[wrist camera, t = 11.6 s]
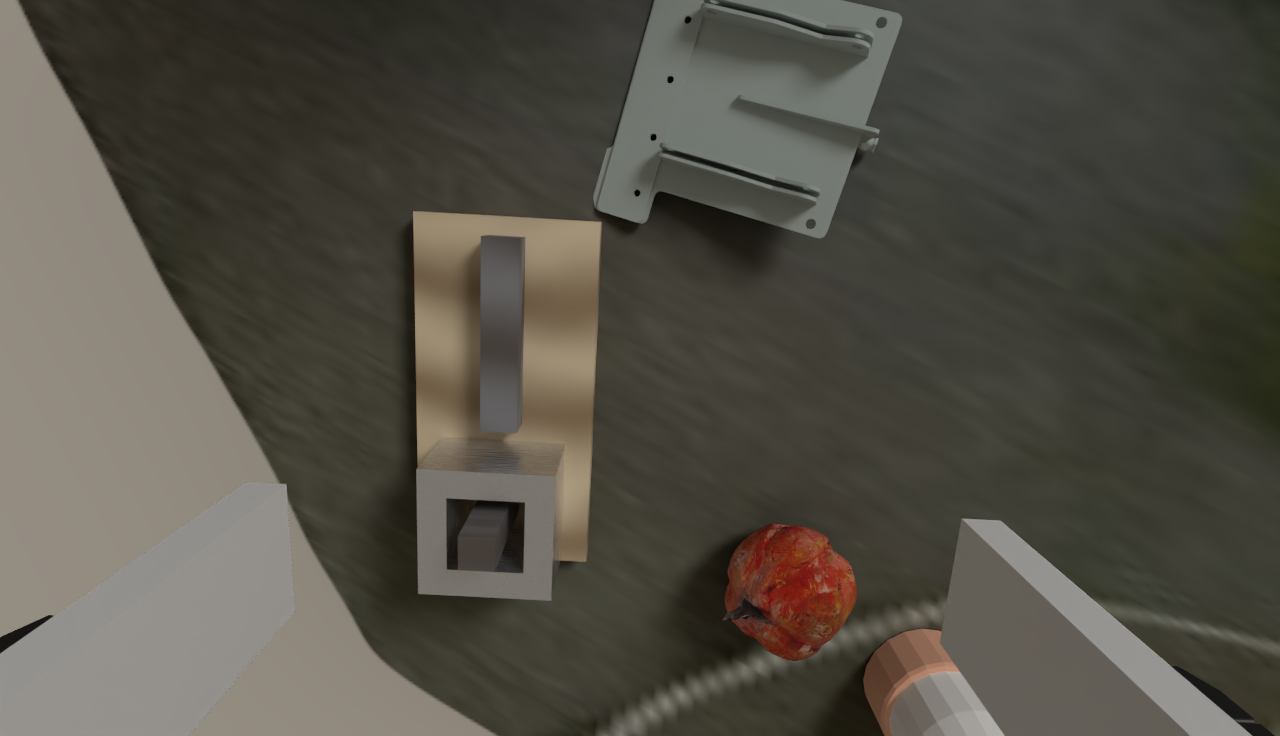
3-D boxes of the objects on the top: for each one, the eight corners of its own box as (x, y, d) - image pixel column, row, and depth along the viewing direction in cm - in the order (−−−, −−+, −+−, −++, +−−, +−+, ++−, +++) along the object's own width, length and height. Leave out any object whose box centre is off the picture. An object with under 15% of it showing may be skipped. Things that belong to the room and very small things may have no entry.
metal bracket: (944, -43, 30) (826, 282, 33) (926, 6, 36) (826, 281, 39) (645, -105, 33) (563, 200, 36) (672, -51, 39) (598, 209, 42)
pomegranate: (818, 488, 44) (708, 508, 38) (915, 557, 39) (806, 594, 33) (780, 581, 46) (671, 614, 40) (867, 658, 41) (757, 710, 35)
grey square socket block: (443, 436, 39) (416, 468, 34) (565, 443, 39) (555, 476, 34) (444, 547, 41) (418, 593, 36) (561, 554, 41) (551, 600, 36)
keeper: (421, 211, 38) (361, 211, 29) (602, 221, 38) (592, 225, 30) (426, 541, 42) (375, 622, 34) (587, 549, 42) (575, 632, 34)
